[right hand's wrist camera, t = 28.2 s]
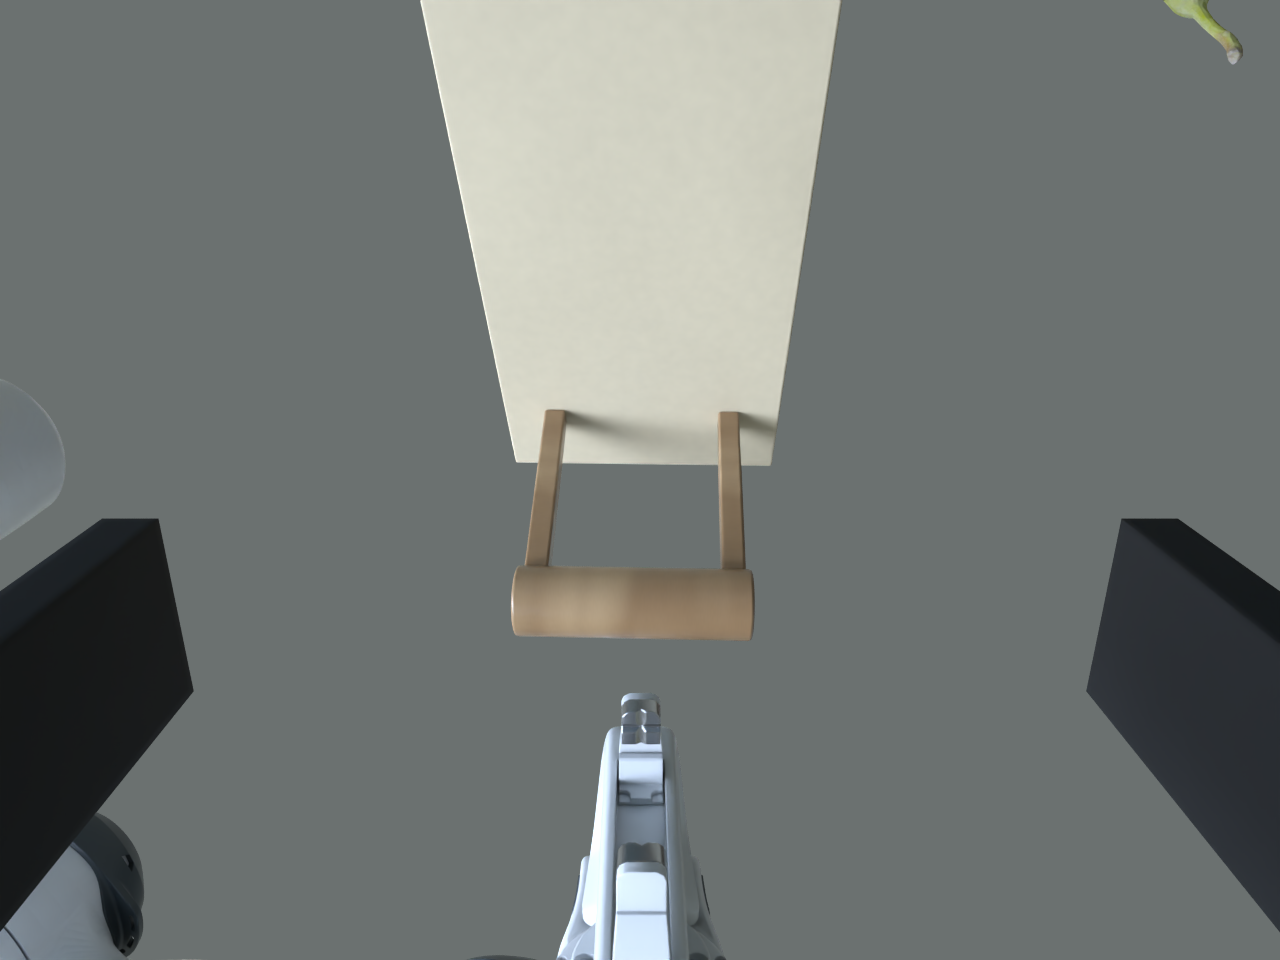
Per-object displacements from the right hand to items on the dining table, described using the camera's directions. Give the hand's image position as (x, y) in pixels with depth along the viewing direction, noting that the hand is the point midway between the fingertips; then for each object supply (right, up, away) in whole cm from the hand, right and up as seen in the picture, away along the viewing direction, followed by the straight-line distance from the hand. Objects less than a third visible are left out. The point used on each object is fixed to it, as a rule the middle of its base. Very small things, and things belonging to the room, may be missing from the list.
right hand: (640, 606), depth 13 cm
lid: (0, +8, +14) cm, 16 cm away
